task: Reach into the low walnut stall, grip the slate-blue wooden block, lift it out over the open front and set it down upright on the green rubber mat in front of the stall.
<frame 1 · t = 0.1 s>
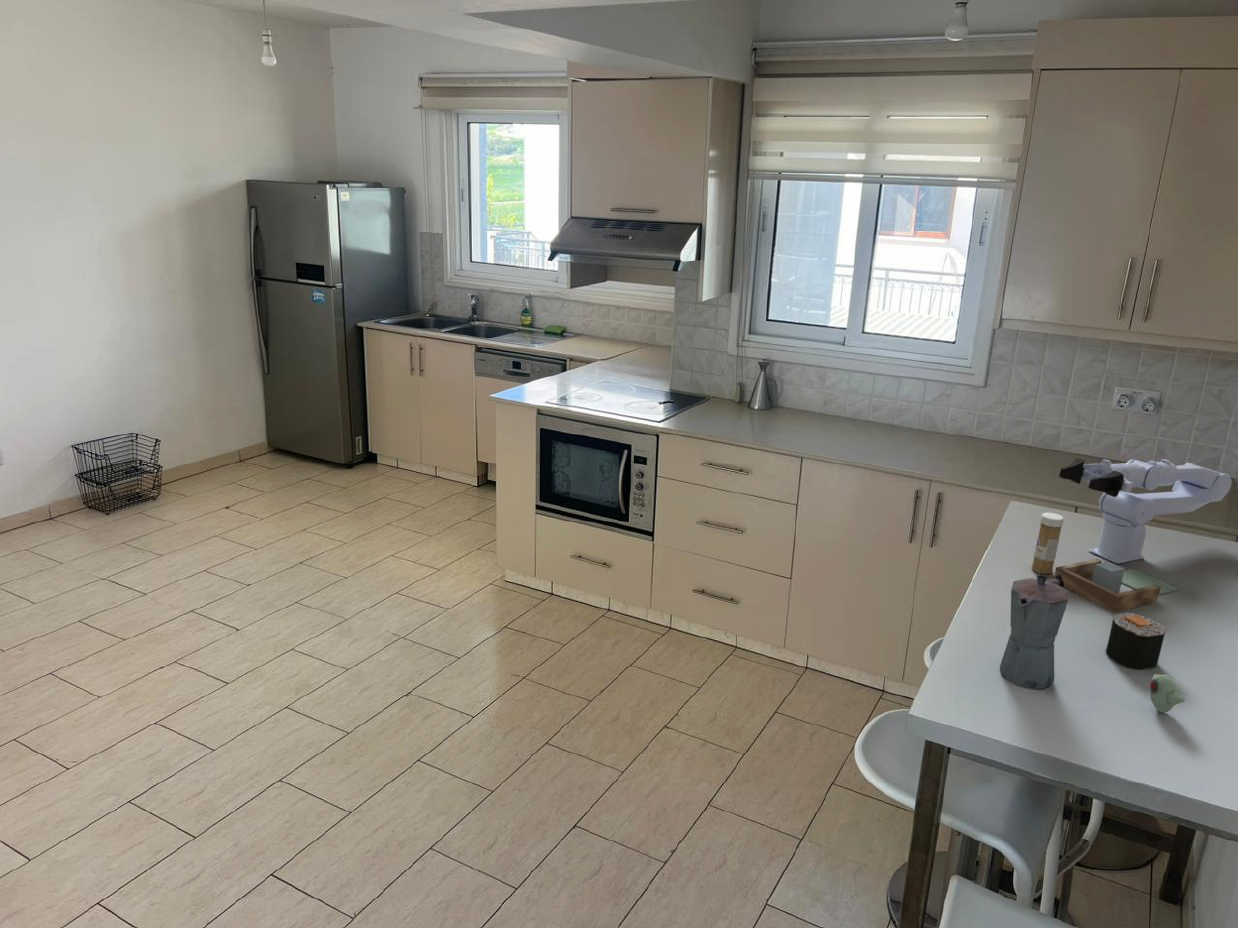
hand: (1075, 478, 201), 22 cm above the table, tool horizontal, fingers open, 7 cm apart
moka pot: (1025, 676, 162), on the table
sprinkles bottle: (1041, 571, 206), on the table
slate block: (1107, 579, 196), in the walnut stall
walnut stall: (1104, 591, 197), on the table
green mat: (1141, 582, 202), on the table
sushi: (1130, 659, 169), on the table
pale green rounded piece: (1158, 712, 152), on the table
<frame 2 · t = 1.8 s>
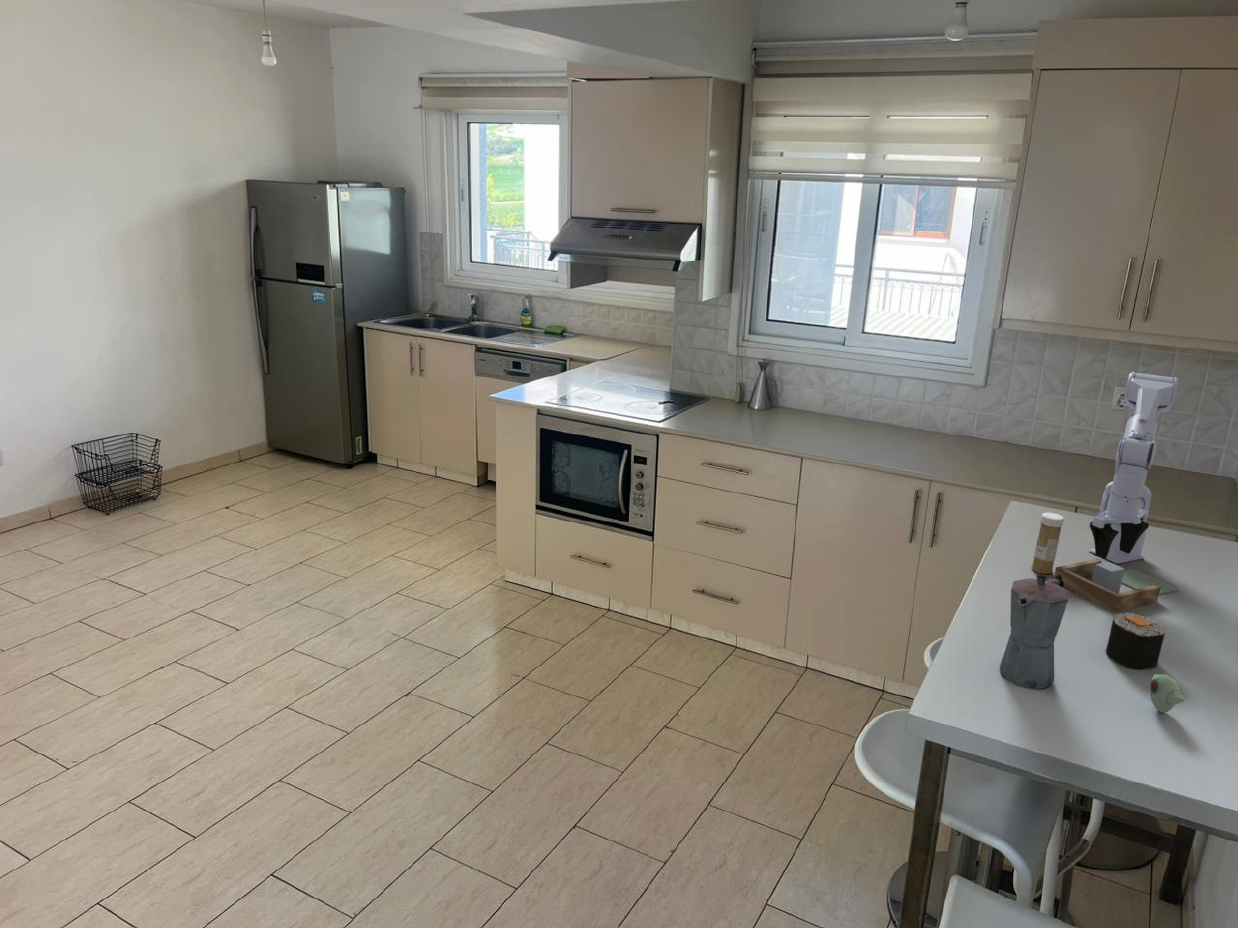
hand: (1112, 554, 194), 9 cm above the table, tool pointing down, fingers open, 7 cm apart
nothing on the table moved.
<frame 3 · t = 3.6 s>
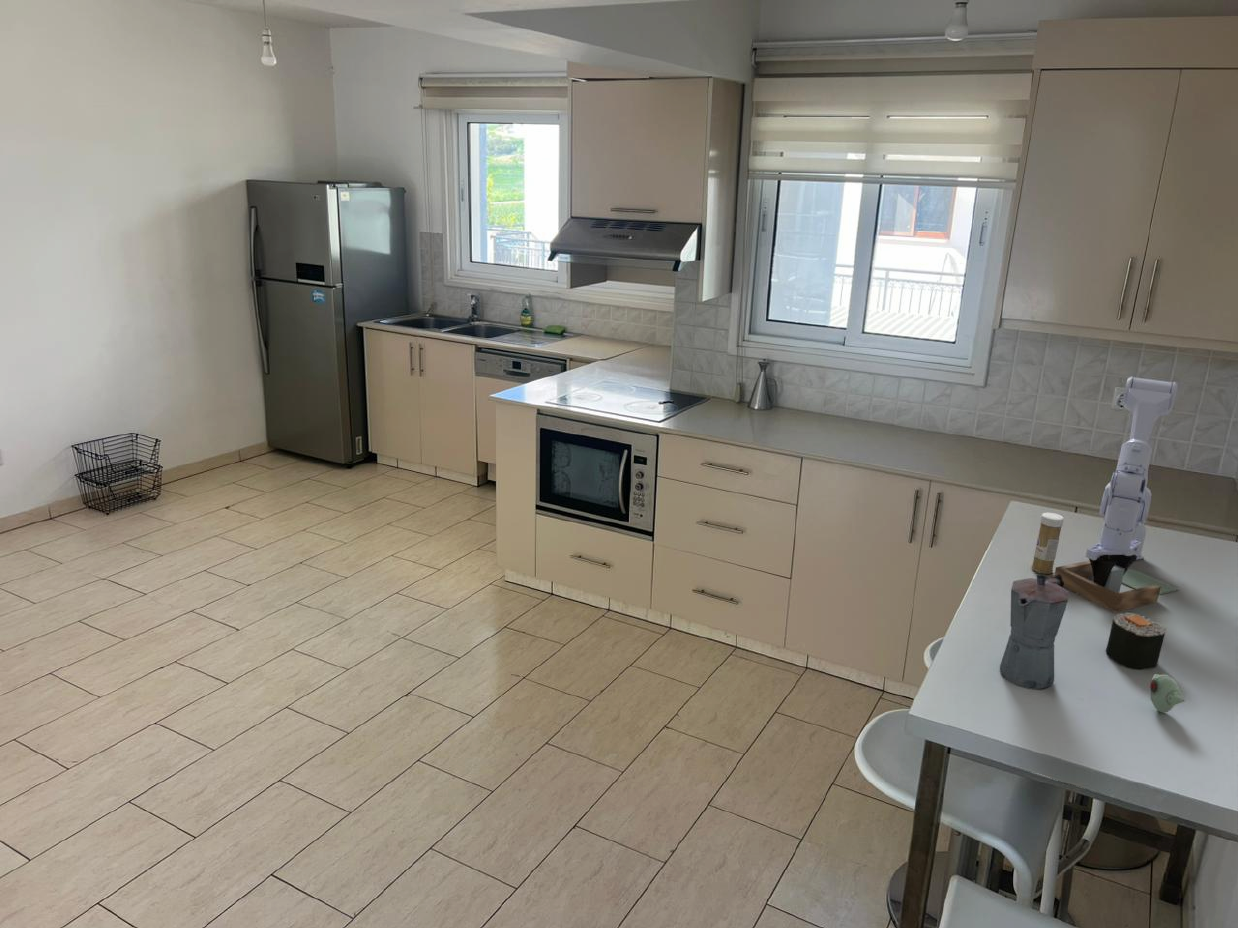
hand: (1105, 584, 196), 2 cm above the table, tool pointing down, fingers closed on slate block, 4 cm apart
slate block: (1107, 579, 196), in the walnut stall, touching gripper
everything else where it was.
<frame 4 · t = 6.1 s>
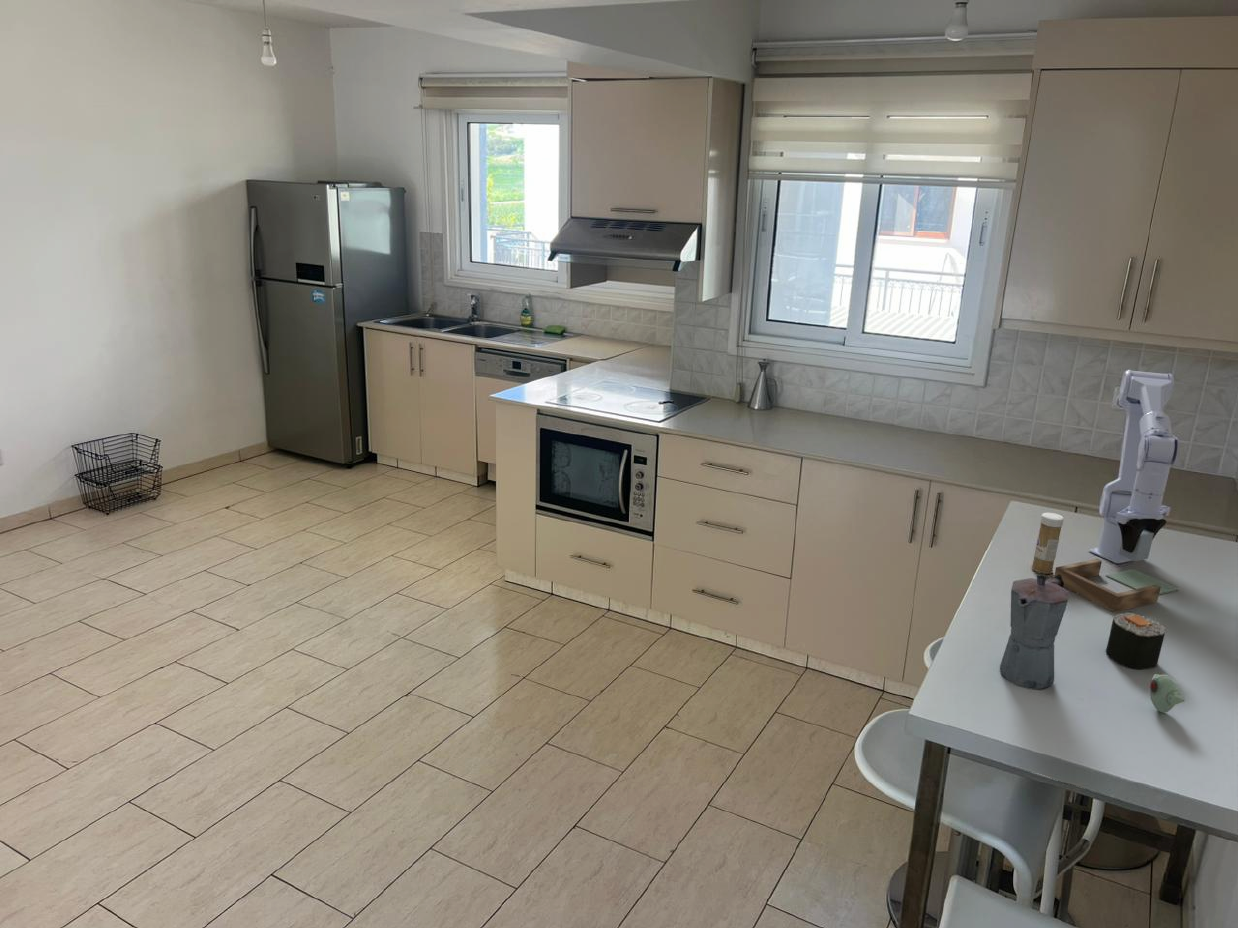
hand: (1134, 549, 197), 9 cm above the table, tool pointing down, fingers closed on slate block, 4 cm apart
slate block: (1136, 543, 197), point 10 cm above the table, touching gripper
everything else where it was.
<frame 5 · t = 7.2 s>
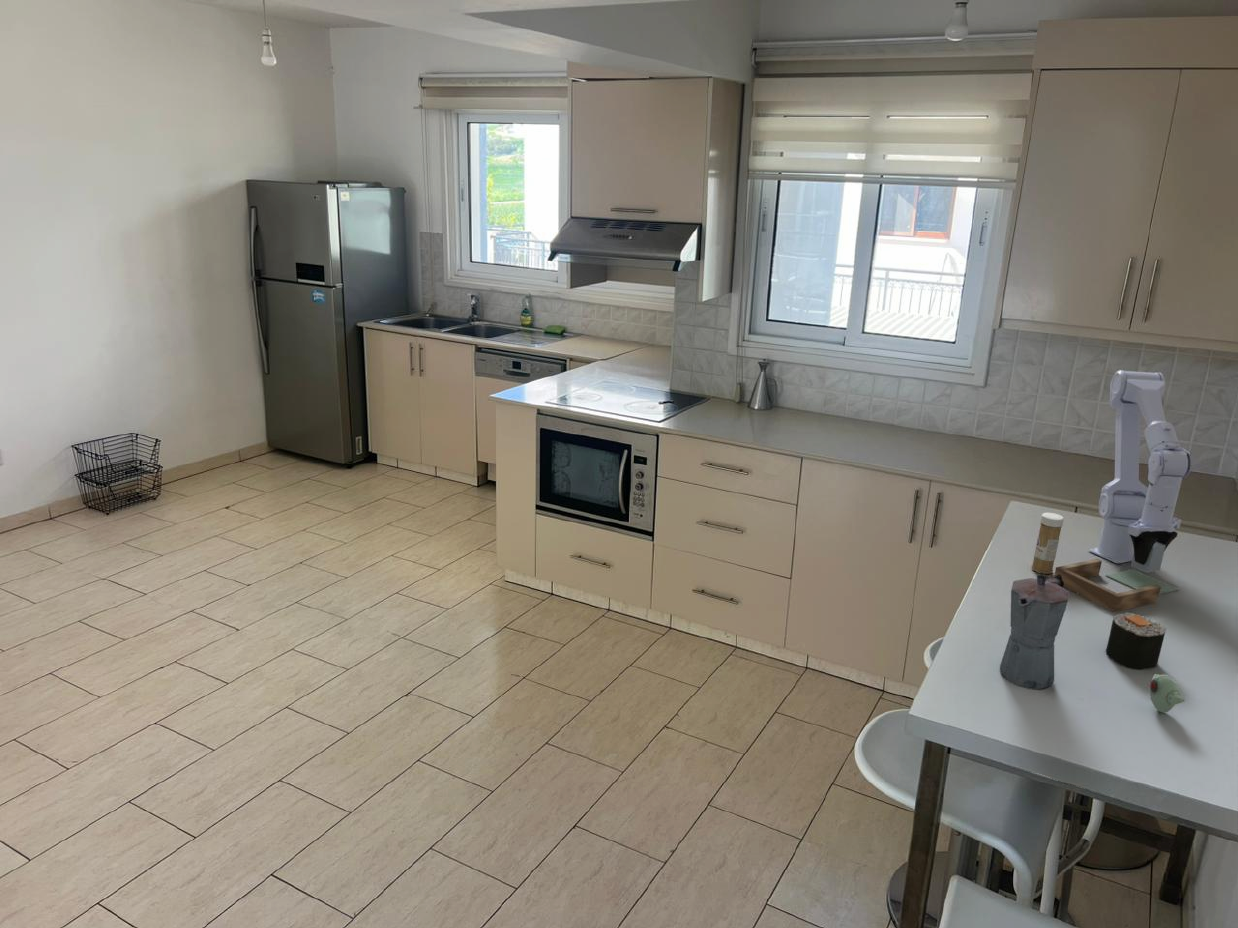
hand: (1146, 561, 200), 5 cm above the table, tool pointing down, fingers closed on slate block, 4 cm apart
slate block: (1148, 555, 199), point 7 cm above the table, touching gripper
everything else where it was.
when the fingers open (3 cm above the table, at t = 8.4 s): slate block drops 1 cm, resting on green mat.
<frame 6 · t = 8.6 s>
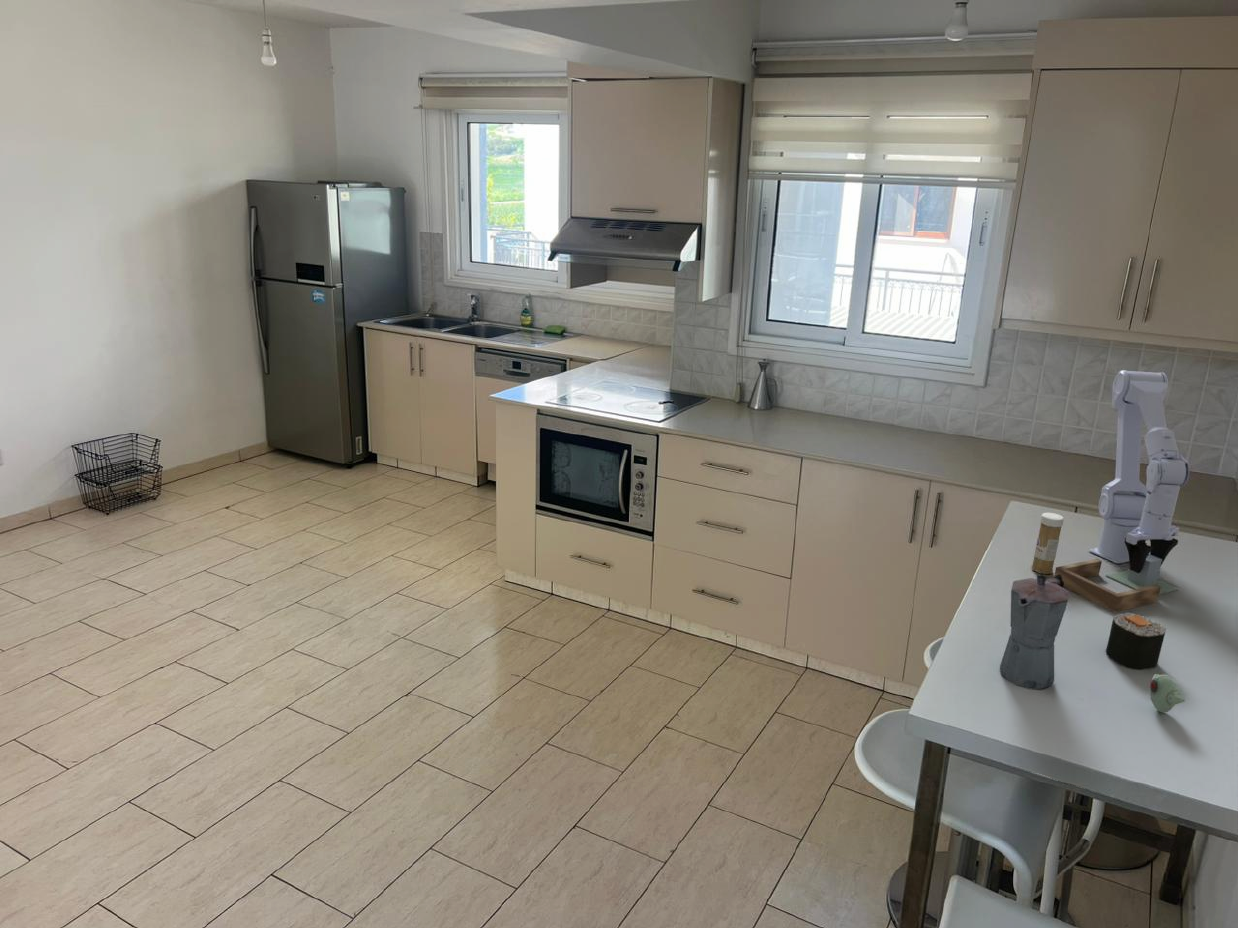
hand: (1144, 569, 201), 3 cm above the table, tool pointing down, fingers open, 6 cm apart
slate block: (1144, 569, 201), resting on green mat
everything else where it was.
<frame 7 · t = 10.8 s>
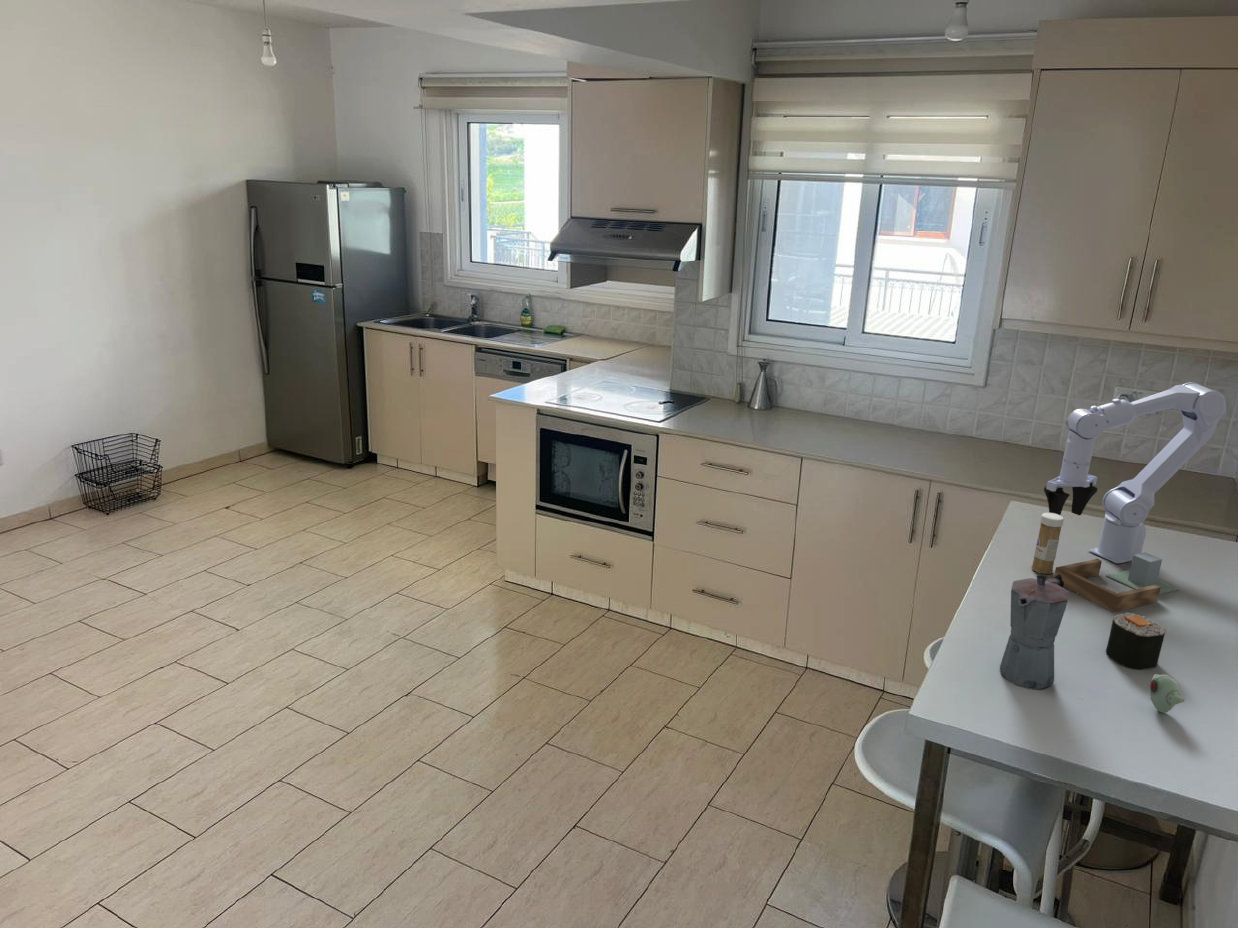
hand: (1065, 515, 214), 9 cm above the table, tool pointing down, fingers open, 7 cm apart
nothing on the table moved.
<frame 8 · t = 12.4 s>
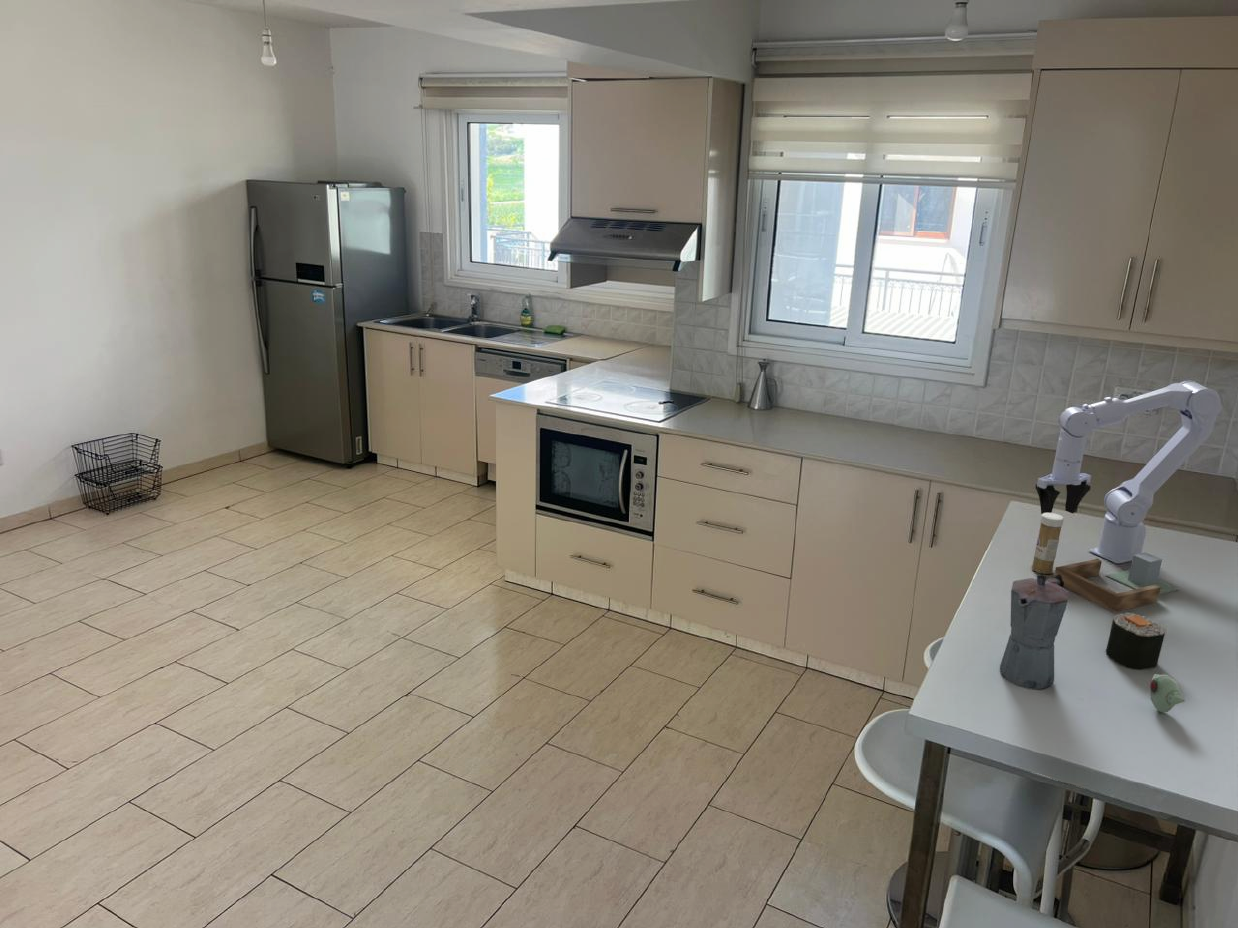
hand: (1057, 513, 215), 9 cm above the table, tool pointing down, fingers open, 7 cm apart
nothing on the table moved.
at the end: slate block inside the target area on the green mat (0.1 cm from its centre), point 3.3 cm above the green mat's base; slate block tilted 0°; the gripper is holding nothing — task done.
